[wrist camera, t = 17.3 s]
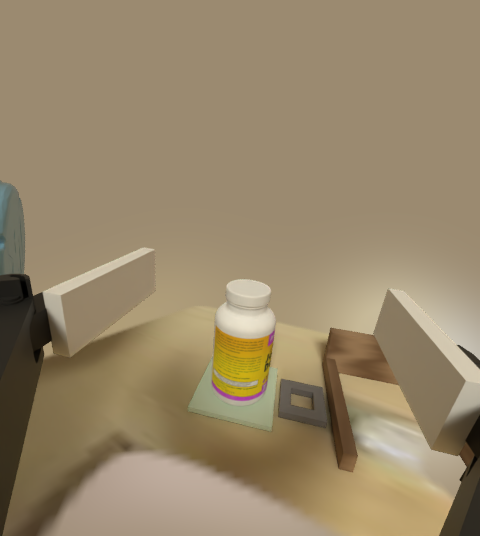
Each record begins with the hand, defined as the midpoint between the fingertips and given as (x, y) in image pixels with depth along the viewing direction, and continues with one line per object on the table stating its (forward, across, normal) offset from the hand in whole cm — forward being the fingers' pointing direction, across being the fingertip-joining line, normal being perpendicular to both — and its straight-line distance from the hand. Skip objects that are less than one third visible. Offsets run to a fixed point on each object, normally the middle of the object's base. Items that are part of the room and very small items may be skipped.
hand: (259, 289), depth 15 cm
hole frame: (+11, +6, -18) cm, 22 cm away
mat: (+11, -2, -18) cm, 21 cm away
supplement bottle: (+11, -2, -18) cm, 21 cm away
